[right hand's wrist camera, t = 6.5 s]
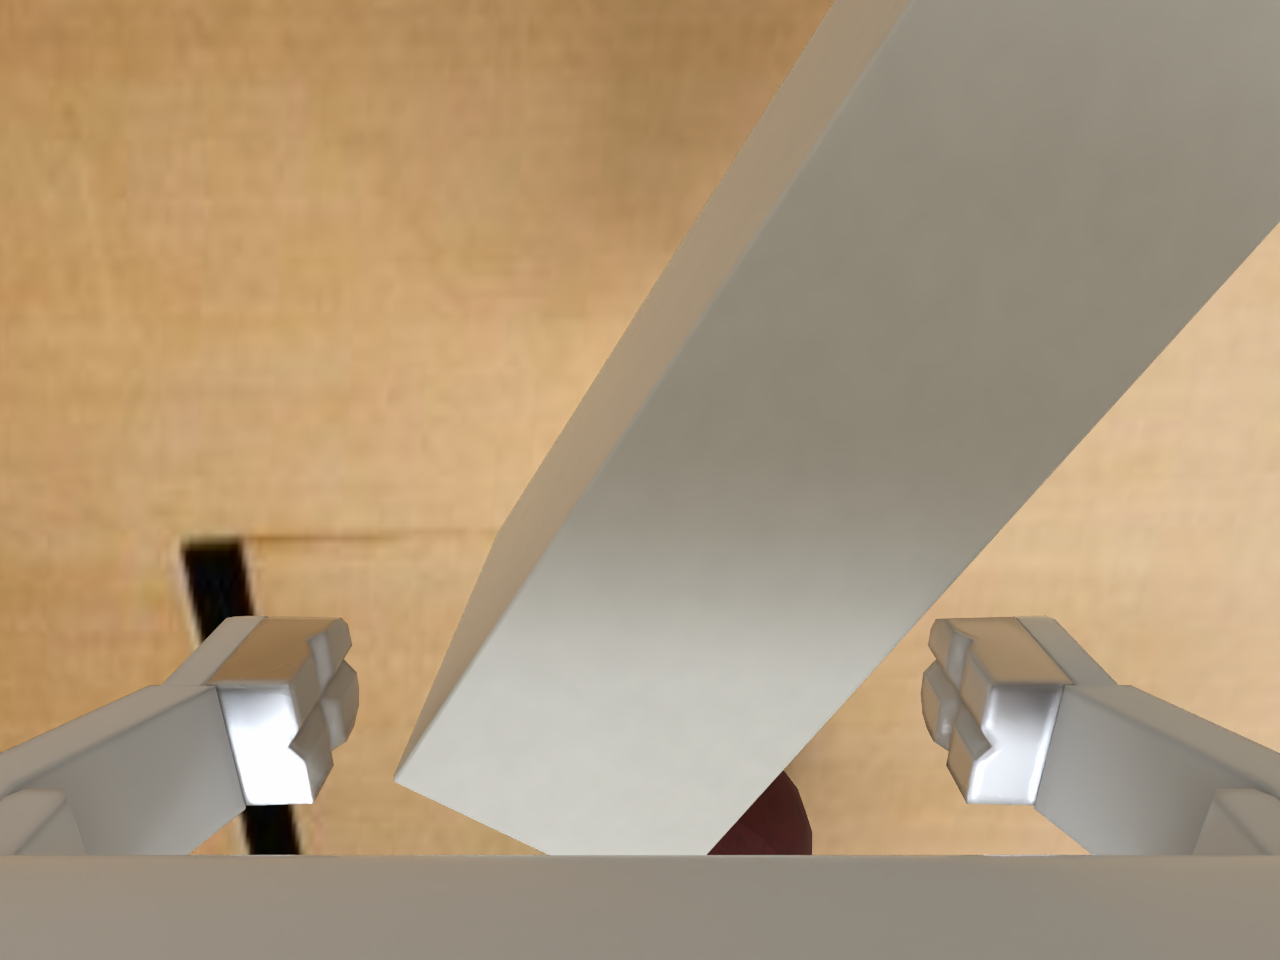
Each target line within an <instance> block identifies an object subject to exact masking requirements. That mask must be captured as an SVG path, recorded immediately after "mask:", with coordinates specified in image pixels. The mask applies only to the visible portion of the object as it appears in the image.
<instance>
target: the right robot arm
mask: <svg viewBox="0 0 1280 960" xmlns="http://www.w3.org/2000/svg"><path fill="white" fill-rule="evenodd" d="M351 646H352V643H351V638H350V633H349V628H348V624H347V623H346V622H345V621H344V620H343V619H342V618H328V617H277V616H272V617H268V616H235V617H231V618H226V619H225V620H224V621H223V622H222V623H221V624H220V625H219V626H218V627H217V628H216V629H215V631H214V632H213V633H212V634H211V635H210V636H209V637H208V638H207V639H206V640H205V641H204V642H203V643H202V644H201V645H200V646H199V647H198V648H197V649H196V650H195V651H194V652H193V653H192V654H191V655H190V656H189V657H188V658H187V659H186V660H185V661H184V662H183V663H182V665H181V666H180V667H179V668H178V669H177V670H176V671H175V672H174V673H173V674H172V675H171V676H170V677H169V678H168V679H167V680H166V681H165V682H164V683H163V684H162V685H149V686H147V687H145V688H142V689H140V690H138V691H136V692H134V693H131V694H129V695H127V696H125V697H123V698H120V699H118V700H116V701H114V702H112V703H109V704H107V705H105V706H103V707H101V708H98V709H96V710H94V711H92V712H90V713H87V714H85V715H83V716H81V717H79V718H76V719H74V720H72V721H70V722H68V723H65V724H63V725H61V726H59V727H57V728H54V729H52V730H50V731H48V732H46V733H43V734H41V735H39V736H37V737H35V738H32V739H30V740H28V741H26V742H24V743H21V744H19V745H17V746H15V747H13V748H10V749H8V750H6V751H4V752H2V753H0V960H1280V753H1278V752H1276V751H1274V750H1271V749H1269V748H1267V747H1265V746H1263V745H1260V744H1258V743H1256V742H1254V741H1252V740H1249V739H1247V738H1245V737H1243V736H1241V735H1238V734H1236V733H1234V732H1232V731H1230V730H1227V729H1225V728H1223V727H1221V726H1219V725H1217V724H1214V723H1212V722H1210V721H1208V720H1206V719H1203V718H1201V717H1199V716H1197V715H1195V714H1192V713H1190V712H1188V711H1186V710H1184V709H1181V708H1179V707H1177V706H1175V705H1173V704H1170V703H1168V702H1166V701H1164V700H1162V699H1160V698H1157V697H1155V696H1153V695H1151V694H1149V693H1146V692H1144V691H1142V690H1140V689H1138V688H1135V687H1133V686H1131V685H1118V684H1117V683H1116V682H1115V681H1114V680H1113V679H1112V678H1111V677H1110V676H1109V675H1108V674H1107V673H1106V672H1105V671H1104V670H1103V669H1102V668H1101V666H1100V665H1099V664H1098V663H1097V662H1096V661H1095V660H1094V659H1093V658H1092V657H1091V656H1090V655H1089V654H1088V653H1087V652H1086V651H1085V650H1084V649H1083V648H1082V647H1081V646H1080V645H1079V644H1078V643H1077V642H1076V641H1075V640H1074V639H1073V638H1072V637H1071V635H1070V634H1069V633H1068V632H1067V631H1066V630H1065V629H1064V628H1063V627H1062V626H1061V625H1060V624H1059V623H1058V622H1057V621H1056V620H1055V619H1053V618H1050V617H1048V616H1021V617H992V618H952V619H936V620H935V622H934V624H933V626H932V628H931V631H930V637H929V642H928V646H929V648H930V649H931V651H932V653H933V654H934V656H935V657H936V660H935V661H934V662H933V663H932V664H931V665H930V666H929V667H928V668H927V669H926V670H925V671H924V672H923V680H922V688H921V701H922V713H923V716H924V720H925V723H926V727H927V729H928V731H929V733H930V735H931V737H932V739H933V741H934V742H936V743H937V744H939V745H940V746H942V747H943V748H945V749H946V750H948V751H949V753H948V759H947V765H946V766H947V767H948V769H949V771H950V773H951V775H952V777H953V779H954V780H955V782H956V784H957V786H958V788H959V790H960V792H961V793H962V795H963V797H964V799H965V801H966V803H968V804H1005V805H1035V807H1034V809H1036V810H1037V811H1038V812H1039V813H1041V814H1042V815H1043V816H1044V817H1046V818H1047V819H1048V820H1049V821H1051V822H1052V823H1053V824H1054V825H1056V826H1057V827H1058V828H1060V829H1061V830H1062V831H1063V832H1065V833H1066V834H1067V835H1068V836H1070V837H1071V838H1072V839H1073V840H1075V841H1076V842H1077V843H1078V844H1080V845H1081V846H1082V847H1083V848H1085V849H1086V850H1087V851H1088V852H1090V853H1091V854H1092V855H188V854H189V853H191V852H192V851H193V850H194V849H196V848H197V847H198V846H199V845H201V844H202V843H203V842H204V841H206V840H207V839H208V838H209V837H211V836H212V835H213V834H214V833H216V832H217V831H218V830H219V829H221V828H222V827H223V826H225V825H226V824H227V823H228V822H230V821H231V820H232V819H233V818H235V817H236V816H237V815H238V814H240V813H241V812H242V811H243V810H245V808H246V807H245V805H274V804H310V803H314V801H315V799H316V797H317V795H318V793H319V792H320V790H321V788H322V786H323V784H324V782H325V780H326V779H327V777H328V775H329V773H330V771H331V769H332V767H333V766H334V765H333V759H332V753H331V751H332V750H334V749H335V748H337V747H338V746H340V745H341V744H343V743H344V742H346V741H347V739H348V737H349V735H350V733H351V731H352V729H353V727H354V724H355V719H356V715H357V710H358V706H359V685H358V679H357V672H356V671H355V670H354V669H353V668H352V667H351V666H350V665H349V664H348V663H347V662H346V661H345V660H344V657H345V656H346V654H347V653H348V651H349V649H350V648H351Z"/></svg>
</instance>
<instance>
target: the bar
mask: <svg viewBox="0 0 1280 960" xmlns="http://www.w3.org/2000/svg"><path fill="white" fill-rule="evenodd" d="M1279 222H1280V0H834V2H833V4H832V5H831V7H830V8H829V10H828V12H827V13H826V15H825V16H824V18H823V19H822V21H821V23H820V24H819V26H818V27H817V29H816V31H815V32H814V34H813V35H812V37H811V38H810V40H809V42H808V43H807V45H806V46H805V48H804V49H803V51H802V53H801V54H800V56H799V57H798V59H797V61H796V62H795V64H794V65H793V67H792V68H791V70H790V72H789V73H788V75H787V76H786V78H785V80H784V81H783V83H782V84H781V86H780V87H779V89H778V91H777V92H776V94H775V95H774V97H773V99H772V100H771V102H770V103H769V105H768V106H767V108H766V110H765V111H764V113H763V114H762V116H761V117H760V119H759V121H758V122H757V124H756V125H755V127H754V129H753V130H752V132H751V133H750V135H749V136H748V138H747V140H746V141H745V143H744V144H743V146H742V148H741V149H740V151H739V152H738V154H737V155H736V157H735V159H734V160H733V162H732V163H731V165H730V166H729V168H728V170H727V171H726V173H725V174H724V176H723V178H722V179H721V181H720V182H719V184H718V185H717V187H716V189H715V190H714V192H713V193H712V195H711V197H710V198H709V200H708V201H707V203H706V204H705V206H704V208H703V209H702V211H701V212H700V214H699V216H698V217H697V219H696V220H695V222H694V223H693V225H692V227H691V228H690V230H689V231H688V233H687V234H686V236H685V238H684V239H683V241H682V242H681V244H680V246H679V247H678V249H677V250H676V252H675V253H674V255H673V257H672V258H671V260H670V261H669V263H668V265H667V266H666V268H665V269H664V271H663V272H662V274H661V276H660V277H659V279H658V280H657V282H656V283H655V285H654V287H653V288H652V290H651V291H650V293H649V295H648V296H647V298H646V299H645V301H644V302H643V304H642V306H641V307H640V309H639V310H638V312H637V314H636V315H635V317H634V318H633V320H632V321H631V323H630V325H629V326H628V328H627V329H626V331H625V333H624V334H623V336H622V337H621V339H620V340H619V342H618V344H617V345H616V347H615V348H614V350H613V351H612V353H611V355H610V356H609V358H608V359H607V361H606V363H605V364H604V366H603V367H602V369H601V370H600V372H599V374H598V375H597V377H596V378H595V380H594V382H593V383H592V385H591V386H590V388H589V389H588V391H587V393H586V394H585V396H584V397H583V399H582V400H581V402H580V404H579V405H578V407H577V408H576V410H575V412H574V413H573V415H572V416H571V418H570V419H569V421H568V423H567V424H566V426H565V427H564V429H563V431H562V432H561V434H560V435H559V437H558V438H557V440H556V442H555V443H554V445H553V446H552V448H551V450H550V451H549V453H548V454H547V456H546V457H545V459H544V461H543V462H542V464H541V465H540V467H539V468H538V470H537V472H536V473H535V475H534V476H533V478H532V480H531V481H530V483H529V484H528V486H527V487H526V489H525V491H524V492H523V494H522V495H521V497H520V499H519V500H518V502H517V503H516V505H515V506H514V508H513V510H512V511H511V513H510V514H509V516H508V517H507V519H506V521H505V522H504V524H503V525H502V527H501V529H500V530H499V532H498V534H497V536H496V538H495V541H494V543H493V545H492V548H491V550H490V552H489V555H488V557H487V559H486V562H485V564H484V566H483V569H482V571H481V573H480V576H479V578H478V580H477V583H476V585H475V587H474V590H473V592H472V594H471V597H470V599H469V601H468V604H467V606H466V608H465V611H464V613H463V615H462V618H461V620H460V622H459V625H458V627H457V629H456V632H455V634H454V636H453V639H452V641H451V643H450V646H449V648H448V650H447V653H446V655H445V657H444V660H443V662H442V665H441V667H440V669H439V672H438V674H437V676H436V679H435V681H434V683H433V686H432V688H431V690H430V693H429V695H428V697H427V700H426V702H425V704H424V707H423V709H422V711H421V714H420V716H419V718H418V721H417V723H416V725H415V728H414V730H413V732H412V735H411V737H410V739H409V742H408V744H407V746H406V749H405V751H404V753H403V756H402V758H401V760H400V763H399V765H398V767H397V770H396V772H395V774H394V781H395V782H396V783H398V784H400V785H402V786H404V787H406V788H408V789H410V790H412V791H415V792H417V793H419V794H421V795H423V796H425V797H427V798H429V799H431V800H434V801H436V802H438V803H440V804H442V805H444V806H446V807H448V808H450V809H453V810H455V811H457V812H459V813H461V814H463V815H465V816H467V817H469V818H472V819H474V820H476V821H478V822H480V823H482V824H484V825H486V826H489V827H491V828H493V829H495V830H497V831H499V832H501V833H503V834H505V835H508V836H510V837H512V838H514V839H516V840H518V841H520V842H522V843H524V844H527V845H529V846H531V847H533V848H535V849H537V850H539V851H541V852H543V853H546V854H548V855H707V854H708V853H709V851H710V850H711V849H712V848H713V847H714V846H715V845H716V844H717V843H718V842H719V840H720V839H721V838H722V837H723V836H724V835H725V834H726V833H727V832H728V830H729V829H730V828H731V827H732V826H733V825H734V824H735V823H736V822H737V821H738V819H739V818H740V817H741V816H742V815H743V814H744V813H745V812H746V811H747V809H748V808H749V807H750V806H751V805H752V804H753V803H754V802H755V801H756V800H757V798H758V797H759V796H760V795H761V794H762V793H763V792H764V791H765V790H766V789H767V787H768V786H769V785H770V784H771V783H772V782H773V781H774V780H775V779H776V777H777V776H778V775H779V774H780V773H781V772H782V771H783V770H784V769H785V768H786V766H787V765H788V764H789V763H790V762H791V761H792V760H793V759H794V758H795V756H796V755H797V754H798V753H799V752H800V751H801V750H802V749H803V748H804V747H805V745H806V744H807V743H808V742H809V741H810V740H811V739H812V738H813V737H814V735H815V734H816V733H817V732H818V731H819V730H820V729H821V728H822V727H823V726H824V724H825V723H826V722H827V721H828V720H829V719H830V718H831V717H832V716H833V714H834V713H835V712H836V711H837V710H838V709H839V708H840V707H841V706H842V705H843V703H844V702H845V701H846V700H847V699H848V698H849V697H850V696H851V695H852V693H853V692H854V691H855V690H856V689H857V688H858V687H859V686H860V685H861V684H862V682H863V681H864V680H865V679H866V678H867V677H868V676H869V675H870V674H871V672H872V671H873V670H874V669H875V668H876V667H877V666H878V665H879V664H880V663H881V661H882V660H883V659H884V658H885V657H886V656H887V655H888V654H889V653H890V651H891V650H892V649H893V648H894V647H895V646H896V645H897V644H898V643H899V642H900V640H901V639H902V638H903V637H904V636H905V635H906V634H907V633H908V632H909V630H910V629H911V628H912V627H913V626H914V625H915V624H916V623H917V622H918V621H919V619H920V618H921V617H922V616H923V615H924V614H925V613H926V612H927V611H928V610H929V608H930V607H931V606H932V605H933V604H934V603H935V602H936V601H937V600H938V598H939V597H940V596H941V595H942V594H943V593H944V592H945V591H946V590H947V589H948V587H949V586H950V585H951V584H952V583H953V582H954V581H955V580H956V579H957V577H958V576H959V575H960V574H961V573H962V572H963V571H964V570H965V569H966V568H967V566H968V565H969V564H970V563H971V562H972V561H973V560H974V559H975V558H976V556H977V555H978V554H979V553H980V552H981V551H982V550H983V549H984V548H985V547H986V545H987V544H988V543H989V542H990V541H991V540H992V539H993V538H994V537H995V535H996V534H997V533H998V532H999V531H1000V530H1001V529H1002V528H1003V527H1004V526H1005V524H1006V523H1007V522H1008V521H1009V520H1010V519H1011V518H1012V517H1013V516H1014V514H1015V513H1016V512H1017V511H1018V510H1019V509H1020V508H1021V507H1022V506H1023V505H1024V503H1025V502H1026V501H1027V500H1028V499H1029V498H1030V497H1031V496H1032V495H1033V493H1034V492H1035V491H1036V490H1037V489H1038V488H1039V487H1040V486H1041V485H1042V484H1043V482H1044V481H1045V480H1046V479H1047V478H1048V477H1049V476H1050V475H1051V474H1052V472H1053V471H1054V470H1055V469H1056V468H1057V467H1058V466H1059V465H1060V464H1061V463H1062V461H1063V460H1064V459H1065V458H1066V457H1067V456H1068V455H1069V454H1070V453H1071V451H1072V450H1073V449H1074V448H1075V447H1076V446H1077V445H1078V444H1079V443H1080V442H1081V440H1082V439H1083V438H1084V437H1085V436H1086V435H1087V434H1088V433H1089V432H1090V431H1091V429H1092V428H1093V427H1094V426H1095V425H1096V424H1097V423H1098V422H1099V421H1100V419H1101V418H1102V417H1103V416H1104V415H1105V414H1106V413H1107V412H1108V411H1109V410H1110V408H1111V407H1112V406H1113V405H1114V404H1115V403H1116V402H1117V401H1118V400H1119V398H1120V397H1121V396H1122V395H1123V394H1124V393H1125V392H1126V391H1127V390H1128V389H1129V387H1130V386H1131V385H1132V384H1133V383H1134V382H1135V381H1136V380H1137V379H1138V377H1139V376H1140V375H1141V374H1142V373H1143V372H1144V371H1145V370H1146V369H1147V368H1148V366H1149V365H1150V364H1151V363H1152V362H1153V361H1154V360H1155V359H1156V358H1157V356H1158V355H1159V354H1160V353H1161V352H1162V351H1163V350H1164V349H1165V348H1166V347H1167V345H1168V344H1169V343H1170V342H1171V341H1172V340H1173V339H1174V338H1175V337H1176V335H1177V334H1178V333H1179V332H1180V331H1181V330H1182V329H1183V328H1184V327H1185V326H1186V324H1187V323H1188V322H1189V321H1190V320H1191V319H1192V318H1193V317H1194V316H1195V314H1196V313H1197V312H1198V311H1199V310H1200V309H1201V308H1202V307H1203V306H1204V305H1205V303H1206V302H1207V301H1208V300H1209V299H1210V298H1211V297H1212V296H1213V295H1214V293H1215V292H1216V291H1217V290H1218V289H1219V288H1220V287H1221V286H1222V285H1223V284H1224V282H1225V281H1226V280H1227V279H1228V278H1229V277H1230V276H1231V275H1232V274H1233V272H1234V271H1235V270H1236V269H1237V268H1238V267H1239V266H1240V265H1241V264H1242V263H1243V261H1244V260H1245V259H1246V258H1247V257H1248V256H1249V255H1250V254H1251V253H1252V252H1253V250H1254V249H1255V248H1256V247H1257V246H1258V245H1259V244H1260V243H1261V242H1262V240H1263V239H1264V238H1265V237H1266V236H1267V235H1268V234H1269V233H1270V232H1271V231H1272V229H1273V228H1274V227H1275V226H1276V225H1277V224H1278V223H1279Z"/></svg>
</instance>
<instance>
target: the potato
mask: <svg viewBox="0 0 1280 960" xmlns="http://www.w3.org/2000/svg"><path fill="white" fill-rule="evenodd" d="M707 855H812V831H811V827H810V824H809V821H808V818H807V815H806V812H805V809H804V806H803V803H802V800H801V797H800V795H799V792H798V789H797V787H796V786H795V785H794V784H793V782H792V781H791V780H790V778H789V777H788V776H787V774H786V773H785V772H784V770H783V771H782V772H781V773H780V774H779V775H778V776H777V777H776V779H775V780H774V781H773V782H772V783H771V784H770V785H769V786H768V787H767V789H766V790H765V791H764V792H763V793H762V794H761V795H760V796H759V797H758V798H757V800H756V801H755V802H754V803H753V804H752V805H751V806H750V807H749V808H748V809H747V811H746V812H745V813H744V814H743V815H742V816H741V817H740V818H739V819H738V821H737V822H736V823H735V824H734V825H733V826H732V827H731V828H730V829H729V830H728V832H727V833H726V834H725V835H724V836H723V837H722V838H721V839H720V840H719V842H718V843H717V844H716V845H715V846H714V847H713V848H712V849H711V850H710V851H709V853H708V854H707Z"/></svg>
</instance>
